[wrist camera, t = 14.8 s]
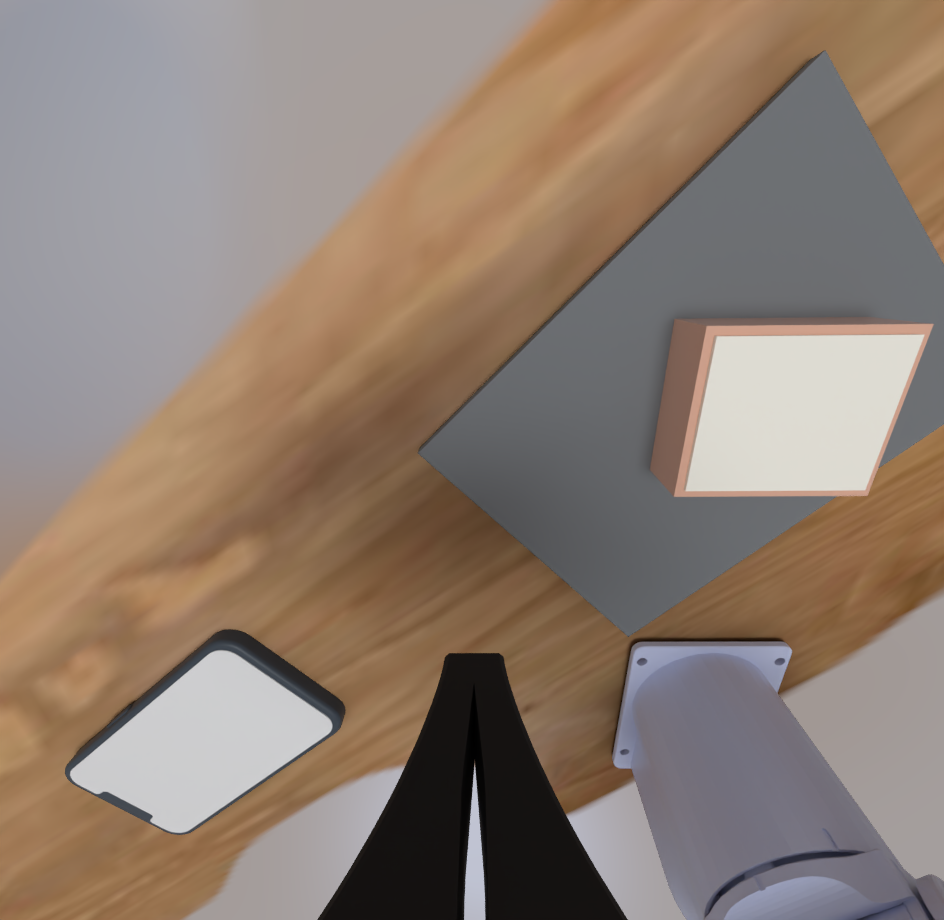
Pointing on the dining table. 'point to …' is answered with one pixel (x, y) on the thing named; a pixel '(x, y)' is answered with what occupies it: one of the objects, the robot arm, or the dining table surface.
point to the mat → (648, 343)
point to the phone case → (206, 734)
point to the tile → (782, 404)
